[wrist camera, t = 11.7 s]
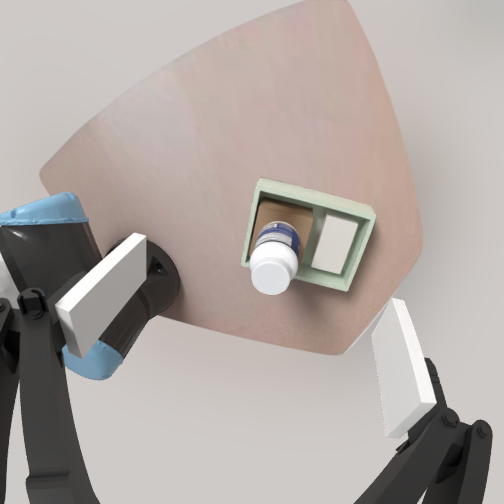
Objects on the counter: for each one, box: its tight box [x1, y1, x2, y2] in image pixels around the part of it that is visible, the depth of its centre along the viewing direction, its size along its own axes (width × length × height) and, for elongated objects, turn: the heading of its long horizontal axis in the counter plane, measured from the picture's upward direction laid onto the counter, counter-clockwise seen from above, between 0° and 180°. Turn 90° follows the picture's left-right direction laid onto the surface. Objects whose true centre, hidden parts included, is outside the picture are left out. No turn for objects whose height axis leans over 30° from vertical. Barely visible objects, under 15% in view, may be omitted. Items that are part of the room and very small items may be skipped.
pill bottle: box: [250, 221, 300, 295], centre depth 35 cm, size 5×5×10 cm
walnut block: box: [249, 196, 313, 268], centre depth 41 cm, size 7×7×5 cm
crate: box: [240, 177, 376, 292], centre depth 42 cm, size 16×12×4 cm
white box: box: [311, 209, 358, 274], centre depth 42 cm, size 4×8×3 cm, turn 169°
